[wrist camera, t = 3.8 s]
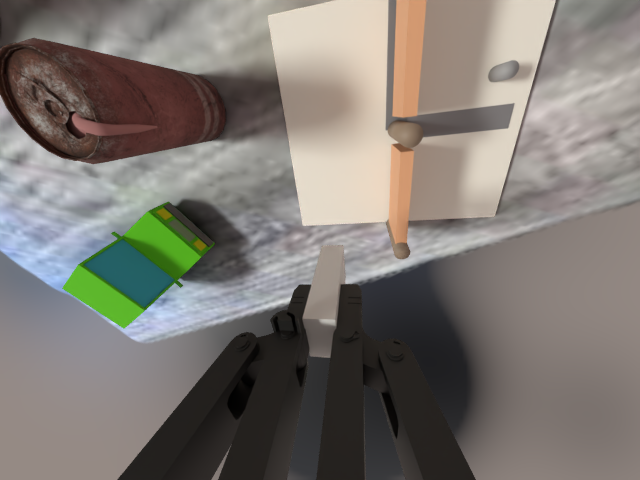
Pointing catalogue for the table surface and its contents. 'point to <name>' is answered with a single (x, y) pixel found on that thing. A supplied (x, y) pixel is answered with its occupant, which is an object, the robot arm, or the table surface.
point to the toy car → (139, 265)
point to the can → (104, 102)
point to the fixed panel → (407, 70)
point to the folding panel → (400, 198)
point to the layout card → (377, 104)
